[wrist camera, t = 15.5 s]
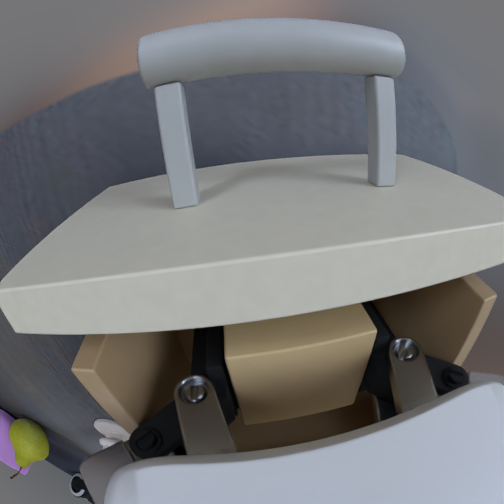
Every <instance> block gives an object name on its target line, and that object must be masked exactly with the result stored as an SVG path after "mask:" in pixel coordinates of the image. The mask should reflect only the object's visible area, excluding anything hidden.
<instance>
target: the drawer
mask: <svg viewBox="0 0 504 504" xmlns="http://www.w3.org/2000/svg"><path fill="white" fill-rule="evenodd" d="M137 62H138V68H139V72H140V75H141V78H142V80H143V82H144V84H145V86H146V87H147V88H148V89H154V93H155V101H156V109H157V116H158V123H159V130H160V136H161V143H162V149H163V155H164V160H165V166H166V171H167V174H165V175H160V176H155V177H150V178H145V179H141V180H136V181H132V182H127V183H123V184H119V185H115V186H111V187H109V188H107V189H106V190H104V191H103V192H102V193H100V194H99V195H98V196H96V197H95V198H93V199H92V200H91V201H89V202H88V203H87V204H85V205H84V206H83V207H82V208H80V209H79V210H78V211H76V212H75V213H74V214H73V215H71V216H70V217H69V218H68V219H66V220H65V221H64V222H63V223H62V224H60V225H59V226H58V227H57V228H56V229H55V230H53V231H52V232H51V233H50V234H49V235H48V236H46V237H45V238H44V239H43V240H42V241H41V242H40V243H39V244H38V245H37V246H35V247H34V248H33V249H32V250H31V251H30V252H29V253H28V254H27V255H26V256H25V257H24V258H23V259H22V260H21V261H20V262H19V263H18V264H17V265H16V266H15V267H14V268H13V269H12V270H11V271H10V272H9V273H8V274H7V275H6V276H5V277H4V278H3V279H2V280H1V282H0V307H1V309H2V311H3V313H4V314H5V316H6V318H7V319H8V321H9V323H10V324H11V326H12V327H13V329H14V331H15V332H16V333H24V334H57V335H85V338H84V340H83V342H82V344H81V346H80V349H79V351H78V353H77V355H76V358H75V360H74V362H73V365H72V367H71V370H72V372H73V373H74V374H75V376H76V377H77V378H78V380H79V381H80V382H81V383H82V384H83V386H84V387H85V388H86V389H87V390H88V392H89V393H90V394H91V395H92V396H93V397H94V399H95V400H96V401H97V402H98V403H99V404H100V405H101V406H102V407H103V408H104V409H105V411H106V412H107V413H108V414H109V415H110V416H111V417H112V418H113V419H114V420H115V421H116V422H117V423H118V424H119V425H120V426H121V427H122V428H123V429H124V430H125V431H126V432H127V433H128V434H130V435H131V433H132V432H133V431H134V430H135V429H136V428H137V427H139V426H140V425H141V424H143V423H144V422H145V421H147V420H148V419H149V418H151V417H152V416H153V415H154V414H156V413H157V412H158V411H160V410H161V409H162V408H163V407H165V406H166V405H167V404H169V403H170V402H171V401H172V400H174V399H175V398H174V389H175V387H176V385H177V384H178V382H179V381H180V380H182V379H183V378H185V377H188V376H190V374H191V361H192V349H193V338H194V328H205V327H214V326H223V325H231V324H239V323H247V322H254V321H261V320H268V319H275V318H281V317H288V316H294V315H300V314H306V313H311V312H317V311H322V310H328V309H333V308H338V307H343V306H348V305H353V304H357V303H362V302H367V301H372V302H373V304H374V305H375V306H376V308H377V309H378V311H379V312H380V314H381V315H382V317H383V318H384V320H385V321H386V323H387V325H388V326H389V328H390V329H391V331H392V332H393V334H394V335H395V337H396V338H398V337H409V338H412V339H414V340H416V341H417V342H418V343H419V344H420V346H421V347H422V350H423V353H424V355H427V356H430V357H433V358H437V359H440V360H443V361H446V362H449V363H452V364H456V365H458V366H461V365H462V363H463V361H464V360H465V358H466V356H467V355H468V353H469V351H470V349H471V348H472V346H473V344H474V342H475V340H476V339H477V337H478V335H479V333H480V331H481V329H482V327H483V325H484V323H485V321H486V319H487V317H488V315H489V313H490V310H491V308H492V306H493V304H494V301H495V299H496V296H497V294H496V293H495V292H494V291H493V290H492V289H491V288H489V287H488V286H487V285H486V284H485V283H484V282H483V281H482V280H481V279H480V278H479V277H478V276H476V275H475V274H474V273H475V272H478V271H481V270H484V269H487V268H490V267H493V266H496V265H499V264H502V263H504V197H502V196H500V195H499V194H497V193H495V192H493V191H490V190H489V189H487V188H485V187H482V186H480V185H478V184H476V183H474V182H472V181H469V180H467V179H465V178H463V177H460V176H458V175H456V174H453V173H451V172H448V171H446V170H443V169H441V168H438V167H436V166H433V165H430V164H428V163H425V162H422V161H419V160H416V159H413V158H411V157H408V156H405V155H396V110H395V93H394V81H393V79H394V78H396V77H398V76H399V75H400V74H401V72H402V71H403V68H404V65H405V49H404V46H403V43H402V41H401V40H400V38H399V37H398V36H397V35H396V34H394V33H392V32H389V31H385V30H381V29H376V28H371V27H366V26H361V25H355V24H349V23H342V22H334V21H325V20H315V19H299V18H252V19H237V20H226V21H217V22H209V23H202V24H196V25H191V26H185V27H179V28H175V29H170V30H165V31H161V32H157V33H153V34H149V35H146V36H143V37H141V38H140V40H139V41H138V47H137ZM268 72H327V73H343V74H354V75H364V76H368V77H365V79H364V81H365V93H366V107H367V129H368V154H360V155H326V156H308V157H293V158H281V159H270V160H260V161H251V162H242V163H234V164H227V165H219V166H212V167H206V168H199V169H195V162H194V156H193V149H192V143H191V136H190V129H189V121H188V114H187V106H186V98H185V90H184V86H183V84H181V83H184V82H189V81H195V80H201V79H208V78H214V77H222V76H230V75H240V74H252V73H268ZM237 411H238V416H235V417H236V419H235V420H234V421H233V422H232V423H231V424H230V428H231V431H232V433H233V436H234V439H235V441H236V444H237V447H238V449H239V452H248V451H257V450H265V449H272V448H279V447H285V446H291V445H296V444H301V443H306V442H311V441H315V440H320V439H324V438H328V437H332V436H336V435H339V434H343V433H347V432H350V431H353V430H357V429H360V428H363V427H366V426H369V425H372V424H375V421H374V413H373V405H372V398H371V394H370V393H368V392H367V390H365V391H362V392H359V391H358V393H357V396H356V398H355V401H354V403H353V404H351V405H348V406H344V407H340V408H337V409H333V410H329V411H324V412H320V413H316V414H311V415H306V416H301V417H296V418H291V419H285V420H279V421H273V422H266V423H258V424H250V425H245V424H244V422H243V419H242V416H241V412H240V409H237Z"/></svg>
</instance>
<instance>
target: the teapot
mask: <svg viewBox="0 0 504 504" xmlns="http://www.w3.org/2000/svg"><path fill="white" fill-rule="evenodd" d="M14 421H15V419H14V418H13V417H12V416H10V415H9V414H8V413H7V412H5V411H3V410H2V409H0V461H2V462H4V463H5V464H7V465H9V466H10V467H12V468H14V469H16V470H18V471H19V470H20V466H18V465H17V463H16V460H15V451H14V448H13V446H12V443H11V441H10V438H9V429H10V426H11V424H12V423H13V422H14ZM31 464H32V463H31ZM31 464H30V466H31ZM30 466H29V467H28V468H26V469H24V468H22V469H21V471H20V472H21V473H23V474H25V475H26V474H27V472H28V470H29V468H30Z"/></svg>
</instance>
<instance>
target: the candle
mask: <svg viewBox="0 0 504 504" xmlns="http://www.w3.org/2000/svg"><path fill="white" fill-rule="evenodd" d="M94 427H95V428H96V429H97V430H98V431H99V432H100V433H102V434H103V435H105V436H106V438H100V440H99V443H100V444H101V445H102V446H104V447H103V449H105V448H107V447H109V446H111V445H113V444H115V443H117V442H119V441H121V440H123V441H124V442H125V441H127V440H129V437H130V434H128V433H127V432H126V431H125V430H124V429H123V428H122V427H121V426H120V425H119V424H118V423H117V422H116V421H113V420H108V419H97V420H95V422H94ZM103 449H102V450H103Z"/></svg>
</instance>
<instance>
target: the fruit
mask: <svg viewBox="0 0 504 504" xmlns="http://www.w3.org/2000/svg"><path fill="white" fill-rule="evenodd" d="M9 438H10V441H11V443H12V446H13V448H14V451H15V460H16V463H17V465H18V466H20V470H19V472H20V471H21V469H22V468H24V469H26V468H28V467H29V466H30V464H31V463H33V462H35V461H40V460H43V459H45V458H46V457H47V456H48V454H49V444H48V440H47V437H46V435H45V433H44V431H43V430H42V428H41V427H40V425H38V424H37V423H36V422H34V421H32V420H29V419H17V420H15V421H14V422H13V423H12V424H11V426H10V429H9ZM19 472H18V473H17V474H15V475H13V476H12V477H10V478H11V479H12V478H14V477H15V476H17V475H18V474H19Z"/></svg>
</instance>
